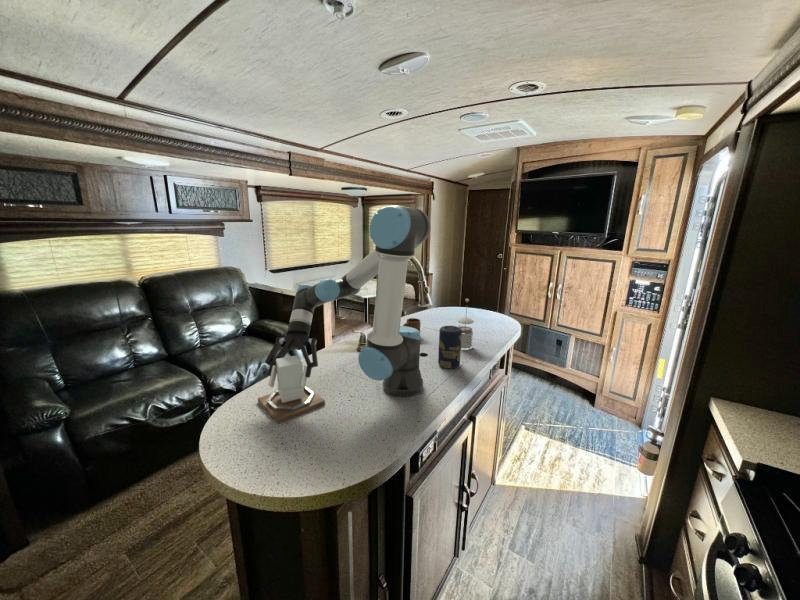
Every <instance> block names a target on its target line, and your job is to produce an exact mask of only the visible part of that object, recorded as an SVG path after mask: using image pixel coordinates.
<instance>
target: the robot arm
mask: <svg viewBox="0 0 800 600" xmlns="http://www.w3.org/2000/svg"><path fill="white" fill-rule="evenodd" d="M368 227H369V236H370V239H371V240H372V243H373V244H374V245H375V247H374V248H375V249H373V250H372V251H371V252H370V253H369V254H367V255H366V256H365V257H364V258H363V259H362V260H361V261H359V262H358V263H357V264H356V265H354V266H353V267H352V268H351V269H350V270H349V271H347V273H345V274H344V275H343V276H342V277H340V278H337V279H332V278H326V279H323V280H320V281H319V282H317V283H316V284H314V285H311V284H307V283H306V284H300V285H299V286H298V287H297V289H296V292H295V295H294V300H293V303H292V310H291V314H290V318H289V323H288V327H287V331H286V335H285V337H280V336H276V337H275V343H274V345H273V347H272V348H271V350H270V351H269V354H268V356H267V357H266V359H265V364H266V365H267V366H269V369H268V376H269V381H268V386H269V387H270V388H274V387H275V382H276V378H277V368H276V359H278V358H284V357H285V356H286V355H287V354H288V353H289V352H291V350H292V351H294V350H297V351H301V353H302V356H303V358H304V361H305V364H306V366H305V365H304V367H303V376H302V381H301V387H302V388H305V386H307V385H306V384H307V382H308V381H307V380H308V378H311V374H312V370H313V368H317V367H318V366H319V363H318V355H317V353H318V352H317V343H318V340H317V339H316V337H312V338H310V333H311V332H310V331H311V325H312V321H313V317H314V316H313V315H314V312H315V308H317V307H321V306H323V305H324V304H326V303H330V302H333V301H337V300H340V299H344V298H348V297H353V296H355V295H357V294H359V292H360V291H361V288H363V286H364V285H366V284H367V283H369V282H370V281H372V279H373V278H375V277H376V276H377V282H376V291H375V303H374V310H373V311H374V313H373V320H372V321H373V323H372V324H373V325H372V331H370V332H369V333H367V337H366V345H365V347H363V348H362V349H361V350H360V351H359V354H358V358H357V359H358V364H359V366H360V367H359V368H360V369H361V371H363V374H364V375H366V376H367V378H369V379H371V380H373V381H377V382H380V381H382V389H383V390H384V391H385V392H386V393H387V394H389V395H391V396H394V397H395V396H396V397H401V398H402V397H404V398H405V397H412V396H416V395H418V394H420V393H421V392H422V391H423V390H424V389H423V388H424V379H423V378H422V373H421V369H420V357H421V355H420V354H421V340H422V339H421V331H420V332H419V331H418V330H417V329H415V328H412V327H406V326H403V325H401V321H402V312H403V305H404V297H405V289H406V282H407V281H406V280H407V273H408V265H409V261H410V260H411V259H412V258H413V257H414V255H415V249H416V248H418V247H419V246H420V245H422V244H423V243H424V242H425V241H426V240H427V239H428V238H429V237H428V236H429V235H430V232H431V221H430V218H429V217H428V215H427V213H425V212H424V211H423V210H421V209H420V208H417V207H408V206H402V205H388V206H383V207H381V208H379V209H378V210H377V211H376V212H375V213H374V214H373V215H372V218H371V219H370V223H369V226H368ZM284 342H285V344H284ZM308 343H309V344H310V349H311V351H310V352H311V359H312V361H311V359H310V357H309V354H308V352H307V349H306V347H305V346H306V345H308ZM283 344H284V345H283ZM282 345H283V346H282ZM281 346H282V348H281ZM280 349H281V350H280Z"/></svg>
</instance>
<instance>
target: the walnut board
mask: <svg viewBox="0 0 800 600" xmlns="http://www.w3.org/2000/svg"><path fill="white" fill-rule="evenodd" d="M306 387H307V388H309V387H308V386H307V385H306ZM309 389H310V390H311V391H313V390H312V389H311V388H309ZM313 392H314V397H313V399H312V401H311V403H310V405H307V406H305V407H302V408H300V409H298V410H295V411H293V412H292V411H274V410H273V409H272V408H271V407H270V406H269V405H268V404H267V400H268V398H269V397H270V396H271V394H272V393H269V394H266V395H263V396H260V397H257V403H258V402H259V403H260V404H261V405H262V406H263V407H262V406H261V405H260V404H259V403H258V404H259V405H260V406H261V407H262V408H263V409H264V410H265V411H266V412H267V413H268V415H269V416H270V417H271V416H272V417H273V418H274V419H275V420H276V421H277V422H276V421H275V420H274V419H273V418H272V419H273V420H274V421H275V422H276V423H277V424H278V423H279V424H281V423H280V422H282V423H284V422H286V421H289V420H291V419H293V418H295V417H298V416H302V415H304V414H305V413H308V412H310V411H312V410H314V409H317V408H319V407H322V406H324V405H325V404H326V400H325V399H324V398H322V396H320V395H319V394H317V393H316V392H315V391H313ZM309 396H310V395H309V394H308V393H307V392H306V391H304V398H300V399H296V400H292V401H288V402H284V403H282V401H281V398H280V395H279V394H278V395H276V396H275V397H274V399H273V400H272V402H273V403H274V404H275V405H276V406H280V407H293V406H296V405H298V404H301V403H303V402H306V401H307V400H308V398H309ZM288 419H289V420H288ZM283 421H284V422H283Z"/></svg>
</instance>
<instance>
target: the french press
mask: <svg viewBox="0 0 800 600" xmlns="http://www.w3.org/2000/svg"><path fill="white" fill-rule="evenodd" d="M465 302H470V299H469V298H465ZM465 307H466V310H465V314H467V312H468V311H467V310H468V306H465ZM474 322H475V321H474V319H472V318H470V317H467V316H464V317H460V318H458V319H457V323H459V325H458V326H457V327H459V328H460V329H461V330H462V339H461V348H470V347H471V346H473V342H472V341H473V335H474V332H473V328H472V327H470V326H466V325H471V324H474ZM460 324H463V325H464V326H463V325H462V326H461V325H460Z"/></svg>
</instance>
